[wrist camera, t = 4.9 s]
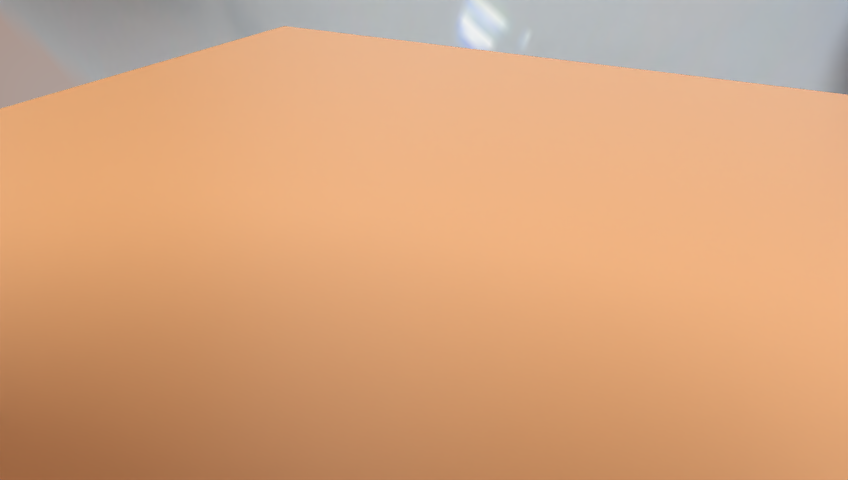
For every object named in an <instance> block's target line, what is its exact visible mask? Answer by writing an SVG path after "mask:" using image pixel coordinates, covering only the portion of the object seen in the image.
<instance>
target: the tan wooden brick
mask: <svg viewBox="0 0 848 480" xmlns="http://www.w3.org/2000/svg"><path fill="white" fill-rule="evenodd" d="M0 480H848V95H846V94H838V93H830V92H822V91H814V90H805V89H797V88H789V87H781V86H772V85H764V84H756V83H748V82H740V81H731V80H723V79H715V78H707V77H698V76H690V75H682V74H674V73H666V72H657V71H649V70H641V69H633V68H624V67H616V66H608V65H600V64H592V63H583V62H575V61H567V60H559V59H550V58H542V57H534V56H526V55H518V54H509V53H501V52H493V51H485V50H476V49H468V48H460V47H452V46H444V45H435V44H427V43H419V42H411V41H402V40H394V39H386V38H378V37H370V36H361V35H353V34H345V33H337V32H328V31H320V30H312V29H304V28H296V27H287V26H283V27H279V28H276V29H273V30H269V31H266V32H262V33H259V34H255V35H252V36H248V37H245V38H242V39H238V40H235V41H231V42H228V43H224V44H221V45H218V46H214V47H211V48H207V49H204V50H200V51H197V52H193V53H190V54H187V55H183V56H180V57H176V58H173V59H169V60H166V61H162V62H159V63H156V64H152V65H149V66H145V67H142V68H138V69H135V70H132V71H128V72H125V73H121V74H118V75H114V76H111V77H107V78H104V79H101V80H97V81H94V82H90V83H87V84H83V85H80V86H77V87H73V88H70V89H67V90H63V91H59V92H56V93H52V94H49V95H46V96H42V97H39V98H35V99H32V100H29V101H25V102H22V103H19V104H15V105H12V106H8V107H4V108H1V109H0Z"/></svg>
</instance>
